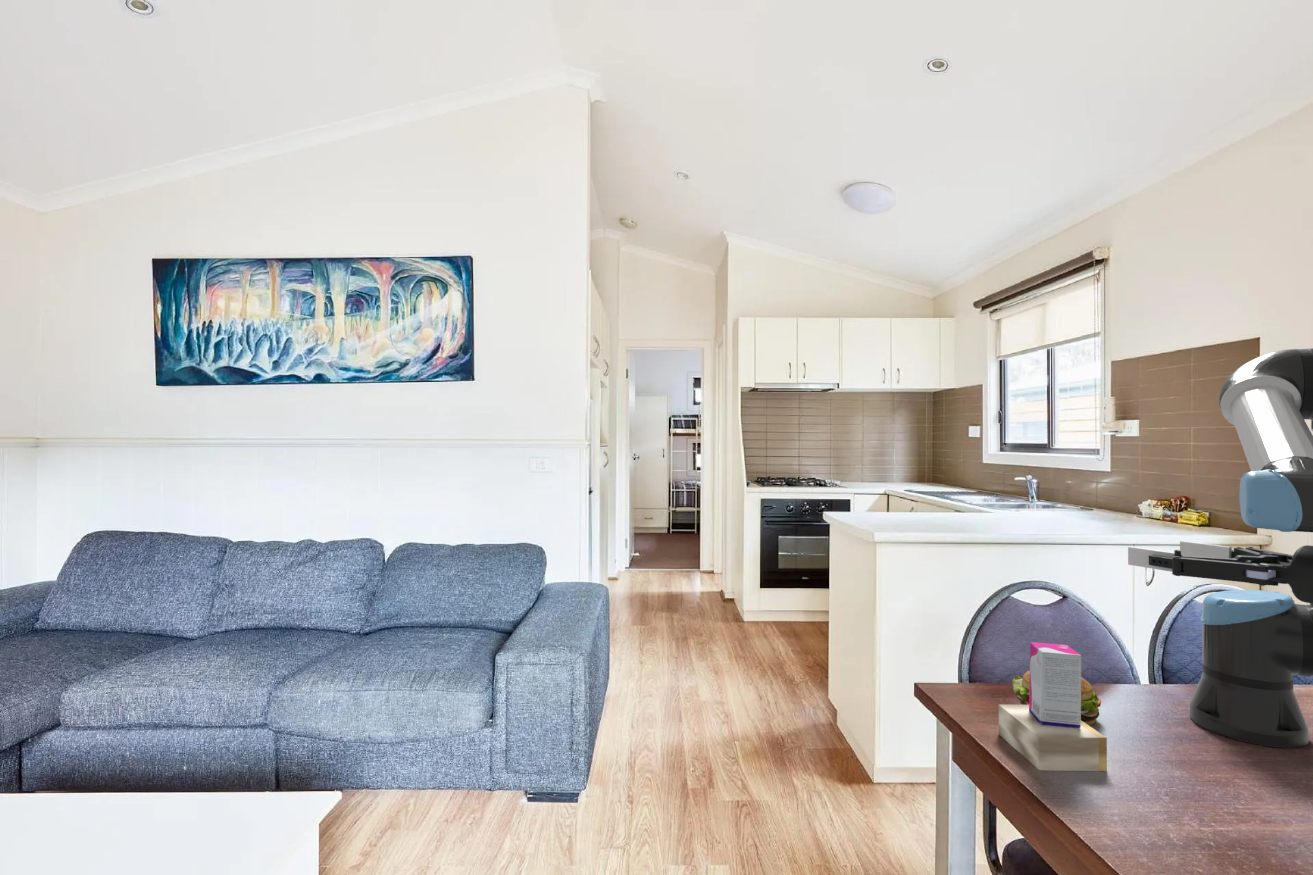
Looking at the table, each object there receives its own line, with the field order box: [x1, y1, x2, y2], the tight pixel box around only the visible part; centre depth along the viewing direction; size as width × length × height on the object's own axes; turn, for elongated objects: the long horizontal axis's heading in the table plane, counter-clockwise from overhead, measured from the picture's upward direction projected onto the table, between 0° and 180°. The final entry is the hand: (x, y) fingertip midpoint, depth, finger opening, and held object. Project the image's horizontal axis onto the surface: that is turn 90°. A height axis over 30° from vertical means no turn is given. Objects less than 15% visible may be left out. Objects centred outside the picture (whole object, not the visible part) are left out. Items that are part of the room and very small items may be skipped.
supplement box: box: [1029, 641, 1082, 728], centre depth 103 cm, size 6×6×12 cm
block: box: [998, 704, 1108, 772], centre depth 103 cm, size 12×10×5 cm
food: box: [1011, 669, 1102, 727], centre depth 117 cm, size 14×14×8 cm
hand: (1155, 552), depth 102 cm, fingers open, 13 cm apart
